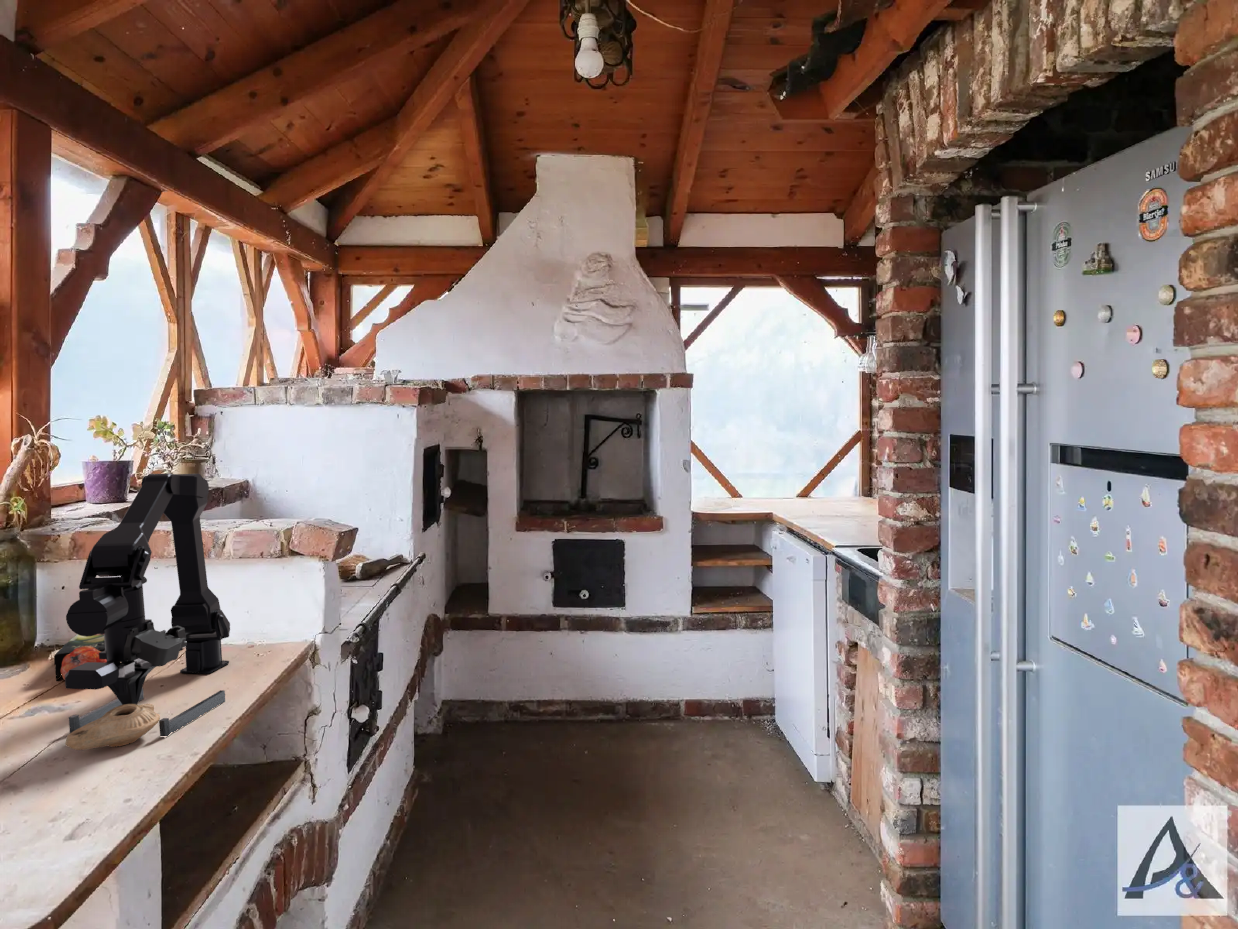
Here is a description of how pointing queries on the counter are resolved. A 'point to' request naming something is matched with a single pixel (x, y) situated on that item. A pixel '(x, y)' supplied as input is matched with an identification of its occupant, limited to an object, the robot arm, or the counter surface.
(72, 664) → the red round fruit
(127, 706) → the pottery oil lamp
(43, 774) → the counter surface
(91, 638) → the juice carton
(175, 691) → the counter surface
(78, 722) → the steel chute
